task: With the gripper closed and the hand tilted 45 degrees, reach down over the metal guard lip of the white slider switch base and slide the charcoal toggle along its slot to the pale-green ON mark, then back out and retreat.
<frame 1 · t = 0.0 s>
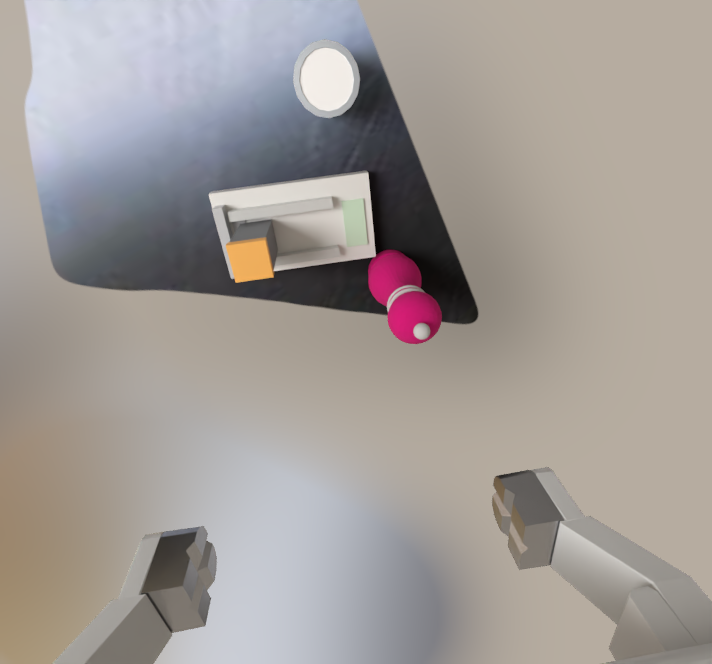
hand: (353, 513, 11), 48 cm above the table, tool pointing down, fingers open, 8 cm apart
white slider switch base: (297, 223, 54), on the table
pepper mill: (388, 269, 59), on the table
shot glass: (324, 84, 47), on the table
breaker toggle: (255, 248, 48), point 7 cm above the table, slide at 0.0 cm
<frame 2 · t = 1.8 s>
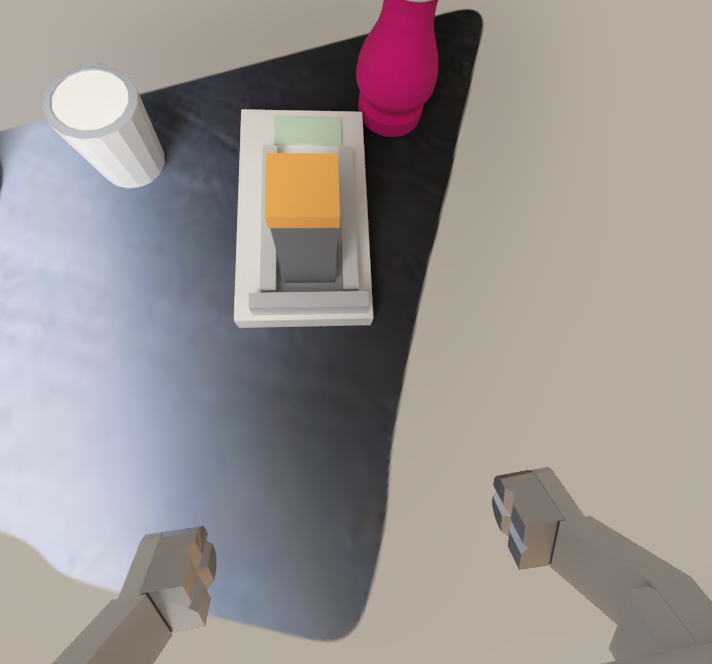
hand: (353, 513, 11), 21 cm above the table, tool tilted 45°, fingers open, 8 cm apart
white slider switch base: (304, 219, 36), on the table
pepper mill: (389, 113, 40), on the table
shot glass: (134, 162, 37), on the table
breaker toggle: (306, 228, 28), point 7 cm above the table, slide at 0.0 cm
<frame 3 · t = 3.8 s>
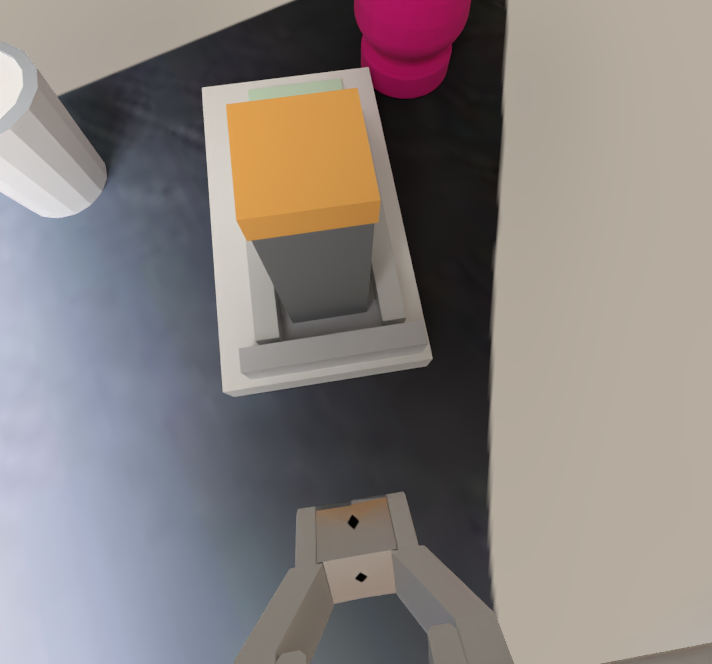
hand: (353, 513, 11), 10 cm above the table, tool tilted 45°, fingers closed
white slider switch base: (308, 226, 26), on the table
pepper mill: (403, 68, 29), on the table
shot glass: (66, 182, 27), on the table
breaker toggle: (316, 235, 17), point 7 cm above the table, slide at 0.0 cm
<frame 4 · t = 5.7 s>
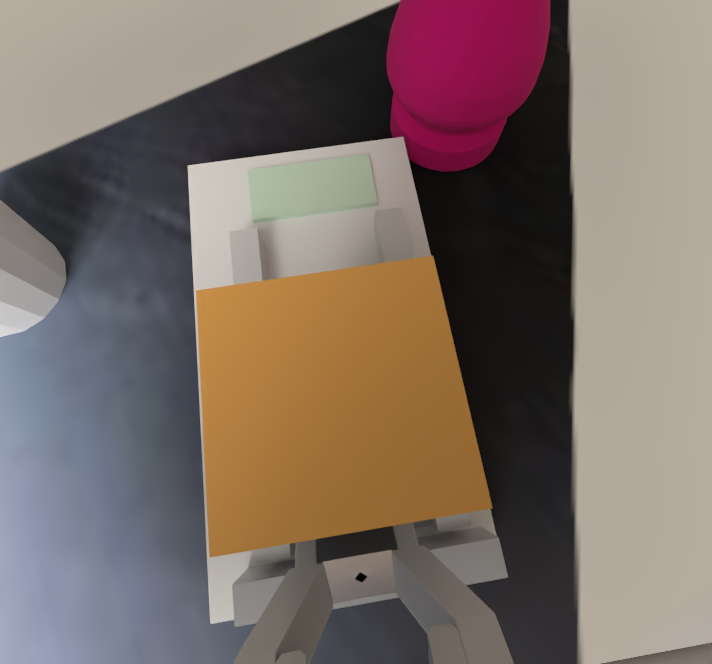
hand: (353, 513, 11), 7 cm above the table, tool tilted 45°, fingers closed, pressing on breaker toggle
white slider switch base: (326, 349, 20), on the table
pepper mill: (443, 130, 23), on the table
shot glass: (14, 285, 21), on the table
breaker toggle: (343, 416, 11), point 7 cm above the table, slide at 1.1 cm, touching gripper
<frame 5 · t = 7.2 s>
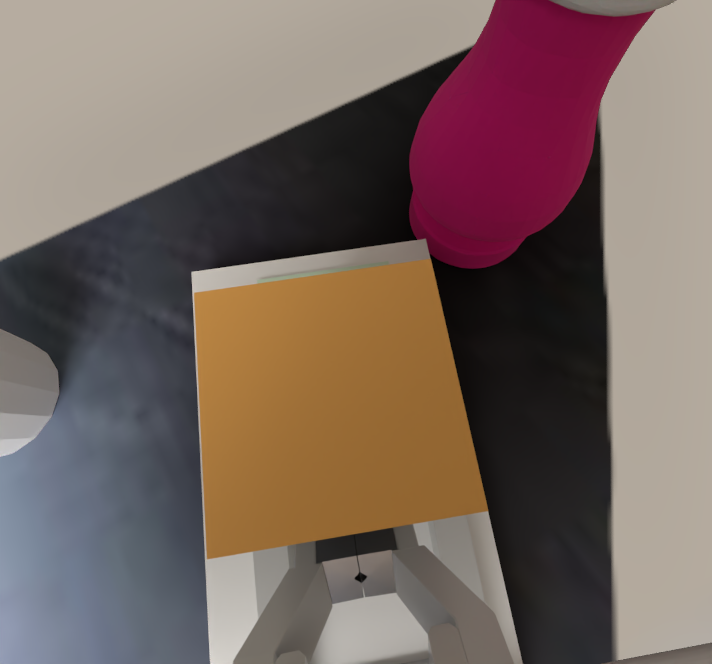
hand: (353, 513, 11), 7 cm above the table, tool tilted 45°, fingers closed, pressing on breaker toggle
white slider switch base: (342, 476, 18), on the table
pepper mill: (465, 218, 22), on the table
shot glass: (2, 398, 19), on the table
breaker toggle: (341, 416, 11), point 7 cm above the table, slide at 7.0 cm, touching gripper
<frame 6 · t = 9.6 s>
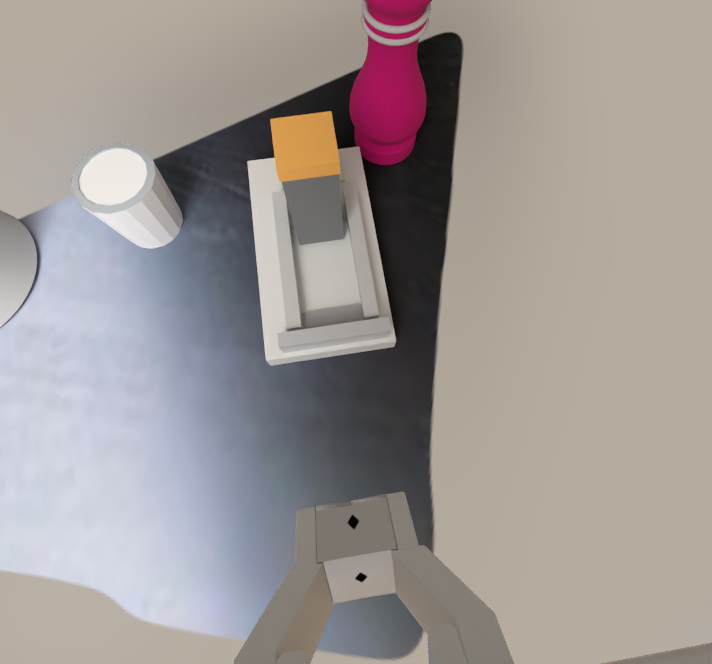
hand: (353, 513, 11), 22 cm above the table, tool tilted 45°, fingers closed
white slider switch base: (318, 255, 38), on the table
pepper mill: (384, 142, 42), on the table
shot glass: (155, 223, 40), on the table
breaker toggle: (312, 187, 32), point 7 cm above the table, slide at 7.0 cm
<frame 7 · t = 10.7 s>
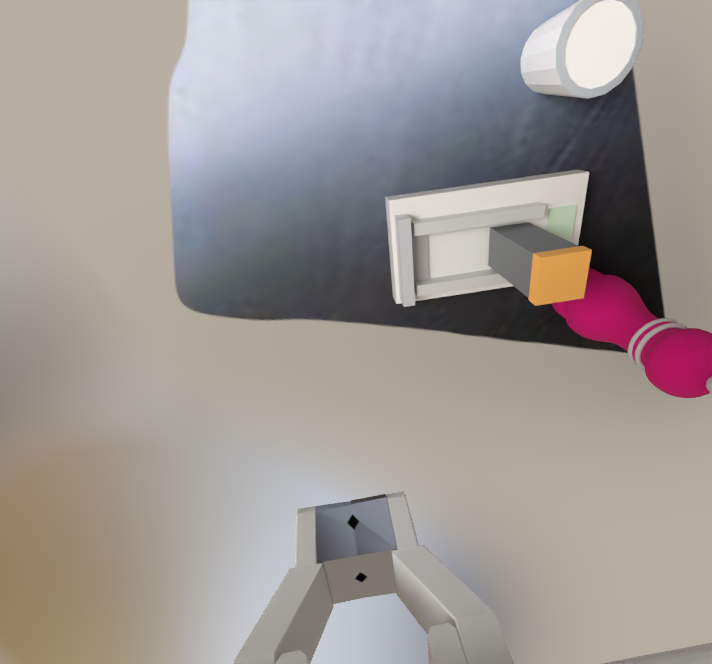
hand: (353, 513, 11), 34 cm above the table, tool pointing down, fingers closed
white slider switch base: (480, 236, 43), on the table
pepper mill: (575, 291, 48), on the table
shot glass: (549, 58, 36), on the table
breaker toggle: (532, 259, 37), point 7 cm above the table, slide at 7.0 cm
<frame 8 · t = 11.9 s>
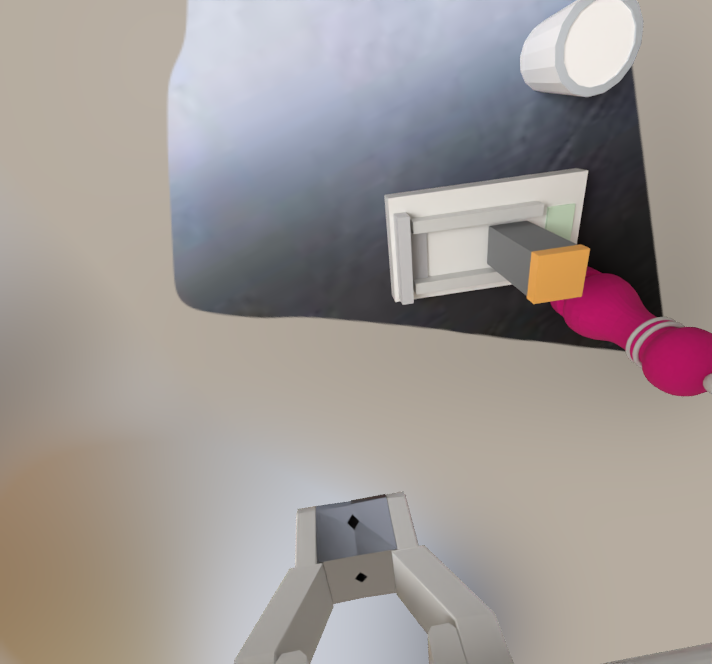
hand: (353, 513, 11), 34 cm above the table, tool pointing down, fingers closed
white slider switch base: (479, 234, 43), on the table
pepper mill: (573, 289, 48), on the table
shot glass: (548, 56, 36), on the table
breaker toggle: (530, 257, 37), point 7 cm above the table, slide at 7.0 cm
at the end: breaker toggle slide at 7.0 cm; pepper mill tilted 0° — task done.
